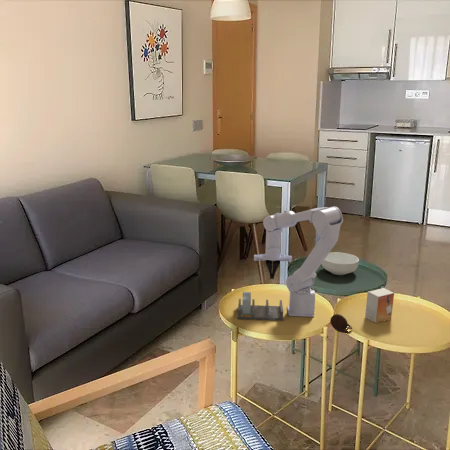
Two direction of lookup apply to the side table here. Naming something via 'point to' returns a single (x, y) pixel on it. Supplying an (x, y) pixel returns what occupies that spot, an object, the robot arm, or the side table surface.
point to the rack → (262, 312)
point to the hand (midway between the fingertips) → (271, 278)
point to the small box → (379, 305)
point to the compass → (339, 323)
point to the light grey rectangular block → (246, 303)
